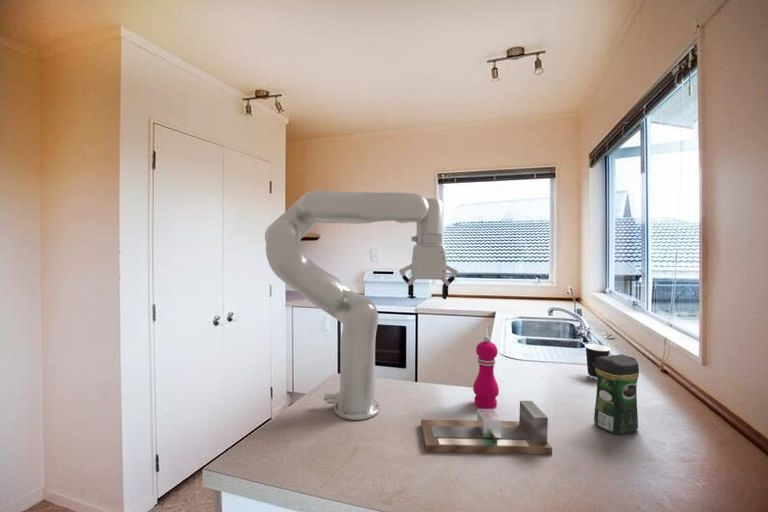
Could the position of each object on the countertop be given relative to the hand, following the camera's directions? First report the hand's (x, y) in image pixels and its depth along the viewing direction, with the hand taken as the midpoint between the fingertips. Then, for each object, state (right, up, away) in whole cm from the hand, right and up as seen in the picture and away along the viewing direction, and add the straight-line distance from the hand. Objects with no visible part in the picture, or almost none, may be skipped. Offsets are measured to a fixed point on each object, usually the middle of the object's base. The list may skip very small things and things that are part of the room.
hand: (427, 298), depth 108 cm
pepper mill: (+17, -31, -2) cm, 35 cm away
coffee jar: (+46, -32, -14) cm, 58 cm away
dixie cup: (+63, -31, +21) cm, 73 cm away
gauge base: (+10, -31, -21) cm, 39 cm away
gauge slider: (+12, -29, -23) cm, 39 cm away
